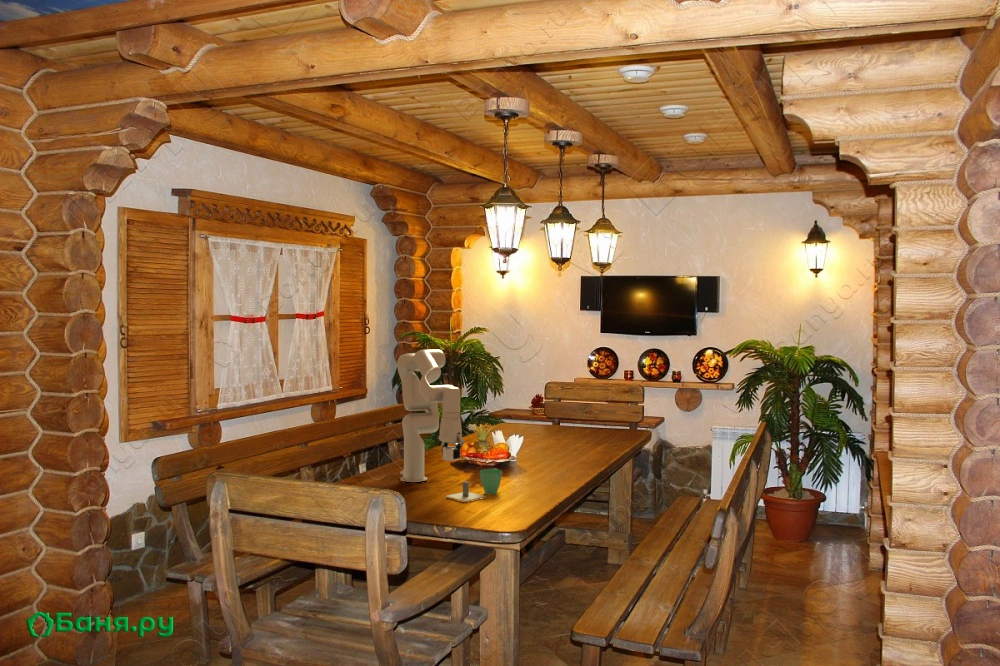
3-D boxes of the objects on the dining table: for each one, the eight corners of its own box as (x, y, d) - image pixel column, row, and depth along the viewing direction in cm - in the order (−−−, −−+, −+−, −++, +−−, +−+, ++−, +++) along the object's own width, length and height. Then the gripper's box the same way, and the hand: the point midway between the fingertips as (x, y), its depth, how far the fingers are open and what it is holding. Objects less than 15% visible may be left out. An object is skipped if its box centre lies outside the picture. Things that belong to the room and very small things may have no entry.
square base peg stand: (445, 498, 354) (445, 482, 353) (466, 493, 362) (466, 477, 362) (464, 503, 345) (465, 486, 345) (485, 498, 354) (485, 482, 354)
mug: (499, 496, 357) (499, 474, 357) (477, 495, 359) (477, 472, 359) (506, 489, 371) (506, 467, 371) (484, 488, 373) (484, 466, 373)
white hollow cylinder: (439, 459, 352) (439, 447, 352) (451, 457, 357) (451, 445, 357) (449, 461, 347) (449, 449, 347) (462, 459, 352) (462, 447, 352)
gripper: (431, 414, 355) (431, 455, 356) (457, 418, 343) (457, 461, 343) (445, 413, 361) (444, 453, 361) (471, 417, 348) (471, 459, 348)
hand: (451, 457), depth 352 cm, fingers closed on white hollow cylinder, 6 cm apart
